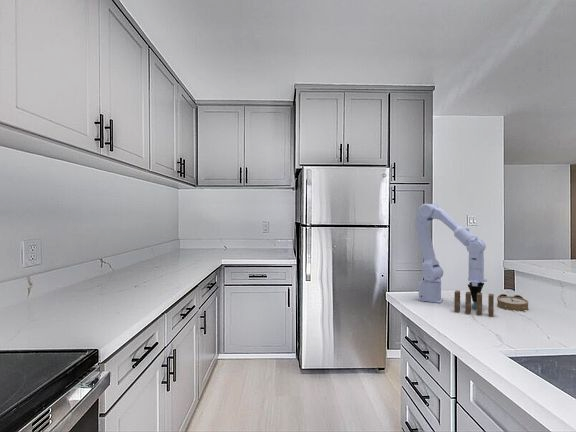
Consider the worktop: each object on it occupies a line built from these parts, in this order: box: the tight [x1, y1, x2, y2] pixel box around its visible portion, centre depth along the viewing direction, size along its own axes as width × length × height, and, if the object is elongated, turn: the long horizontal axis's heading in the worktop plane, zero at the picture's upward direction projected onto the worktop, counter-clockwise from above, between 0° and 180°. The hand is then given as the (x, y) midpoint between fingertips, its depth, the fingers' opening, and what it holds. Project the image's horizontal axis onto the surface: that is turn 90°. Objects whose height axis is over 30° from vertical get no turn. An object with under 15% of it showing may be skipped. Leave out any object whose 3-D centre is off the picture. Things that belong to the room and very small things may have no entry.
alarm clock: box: [496, 293, 529, 312], centre depth 158 cm, size 11×5×15 cm
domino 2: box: [464, 291, 472, 315], centre depth 148 cm, size 2×4×8 cm, turn 149°
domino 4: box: [487, 293, 495, 318], centre depth 144 cm, size 2×4×8 cm, turn 149°
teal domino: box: [472, 301, 477, 310], centre depth 156 cm, size 2×4×8 cm, turn 149°
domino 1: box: [453, 290, 461, 314], centre depth 150 cm, size 2×4×8 cm, turn 149°
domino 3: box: [476, 292, 483, 316], centre depth 146 cm, size 2×4×8 cm, turn 149°
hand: (475, 300), depth 156 cm, fingers closed on teal domino, 4 cm apart
